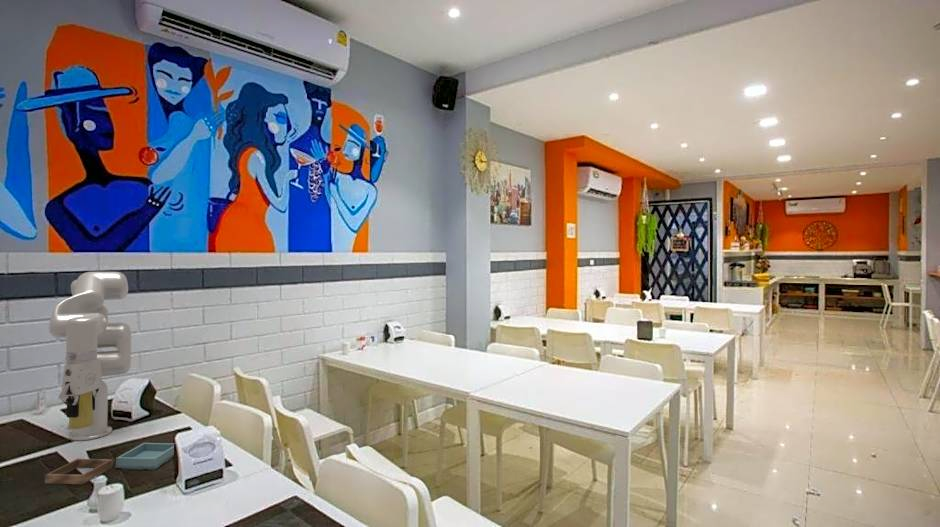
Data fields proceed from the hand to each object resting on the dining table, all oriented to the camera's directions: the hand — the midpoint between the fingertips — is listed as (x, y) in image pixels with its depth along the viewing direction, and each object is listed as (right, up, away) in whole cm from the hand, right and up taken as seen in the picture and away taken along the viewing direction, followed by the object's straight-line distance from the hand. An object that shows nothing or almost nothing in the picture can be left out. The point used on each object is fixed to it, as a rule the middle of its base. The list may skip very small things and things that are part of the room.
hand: (81, 412), depth 147 cm
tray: (+14, -20, +11) cm, 26 cm away
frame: (0, -19, 0) cm, 19 cm away
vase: (0, -4, 0) cm, 4 cm away
